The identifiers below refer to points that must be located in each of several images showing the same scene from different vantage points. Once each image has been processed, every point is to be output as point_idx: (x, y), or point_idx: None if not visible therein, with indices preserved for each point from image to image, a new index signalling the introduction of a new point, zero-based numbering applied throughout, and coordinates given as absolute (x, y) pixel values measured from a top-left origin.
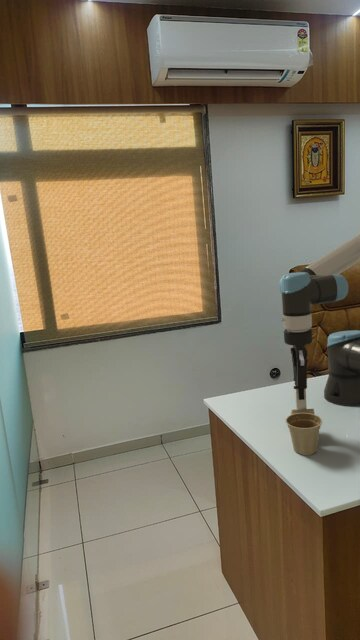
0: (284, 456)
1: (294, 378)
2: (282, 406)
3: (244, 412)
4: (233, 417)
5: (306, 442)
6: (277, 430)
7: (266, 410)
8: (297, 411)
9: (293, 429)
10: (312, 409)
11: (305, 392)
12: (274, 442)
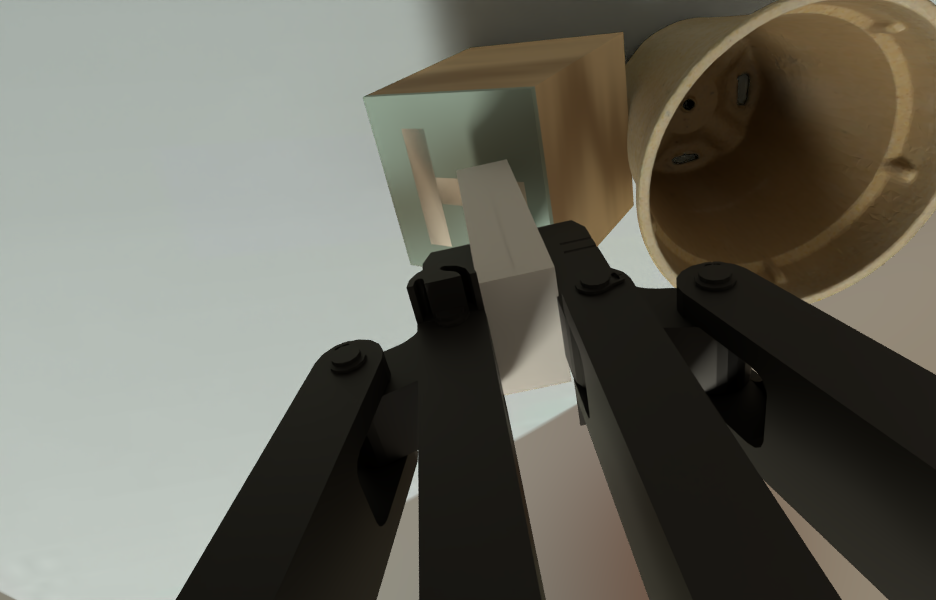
0: None
1: (413, 472)
2: (41, 310)
3: (232, 489)
4: None
5: (831, 108)
6: None
7: (156, 392)
8: None
9: (865, 233)
10: (537, 99)
11: (540, 239)
12: None
